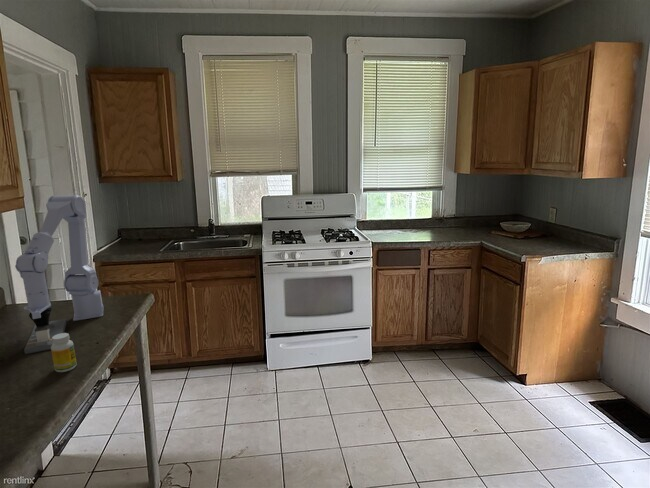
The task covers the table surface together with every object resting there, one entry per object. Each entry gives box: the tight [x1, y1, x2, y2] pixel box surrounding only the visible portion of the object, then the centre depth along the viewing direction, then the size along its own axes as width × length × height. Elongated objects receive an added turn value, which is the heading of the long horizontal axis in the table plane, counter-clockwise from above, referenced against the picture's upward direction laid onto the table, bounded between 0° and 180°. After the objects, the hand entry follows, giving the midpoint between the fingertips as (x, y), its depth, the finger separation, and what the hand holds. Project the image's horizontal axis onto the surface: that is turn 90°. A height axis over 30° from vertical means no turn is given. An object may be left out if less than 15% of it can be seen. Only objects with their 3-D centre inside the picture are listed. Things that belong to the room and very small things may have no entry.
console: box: [23, 318, 68, 355], centre depth 142 cm, size 9×22×3 cm, turn 25°
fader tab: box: [35, 325, 50, 342], centre depth 136 cm, size 3×3×4 cm
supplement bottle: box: [50, 332, 78, 373], centre depth 120 cm, size 5×5×10 cm
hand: (44, 332), depth 138 cm, fingers closed
